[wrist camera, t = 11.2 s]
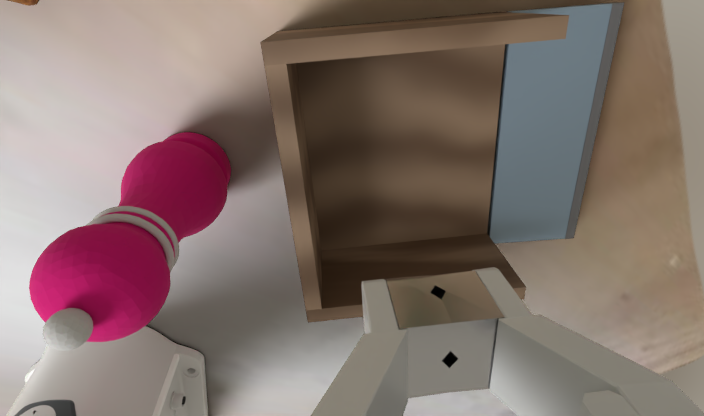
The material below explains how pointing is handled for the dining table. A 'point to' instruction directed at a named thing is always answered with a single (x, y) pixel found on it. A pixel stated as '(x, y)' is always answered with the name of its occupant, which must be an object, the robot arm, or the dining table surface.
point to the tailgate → (550, 125)
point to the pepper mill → (130, 245)
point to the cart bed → (391, 147)
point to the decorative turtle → (26, 2)
